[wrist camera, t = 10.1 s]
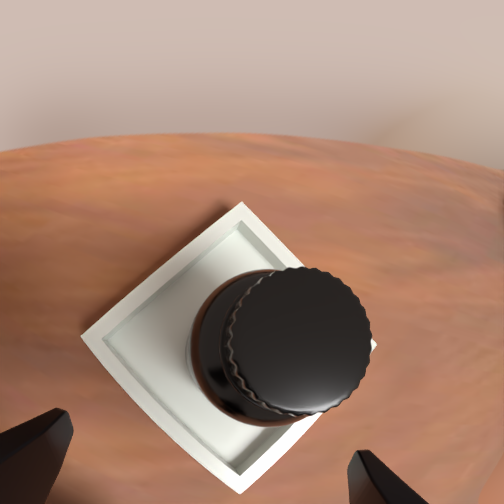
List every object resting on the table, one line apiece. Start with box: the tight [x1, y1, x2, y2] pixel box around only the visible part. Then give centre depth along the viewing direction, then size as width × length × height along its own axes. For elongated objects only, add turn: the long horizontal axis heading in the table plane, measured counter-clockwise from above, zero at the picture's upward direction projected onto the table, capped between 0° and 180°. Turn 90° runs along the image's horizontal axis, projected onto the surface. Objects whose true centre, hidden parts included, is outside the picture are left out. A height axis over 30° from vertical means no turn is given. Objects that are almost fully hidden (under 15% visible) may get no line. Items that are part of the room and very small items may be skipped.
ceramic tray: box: [80, 202, 377, 494], centre depth 20 cm, size 14×14×2 cm
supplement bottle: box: [185, 266, 372, 427], centre depth 15 cm, size 7×7×12 cm
